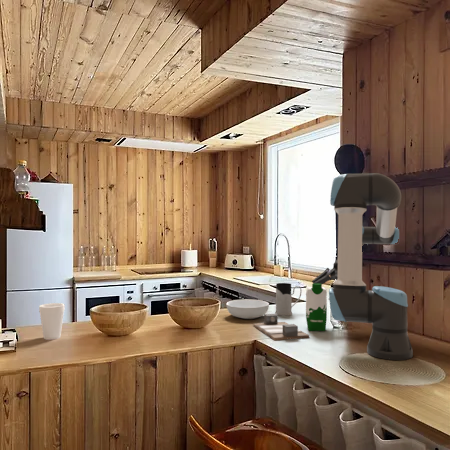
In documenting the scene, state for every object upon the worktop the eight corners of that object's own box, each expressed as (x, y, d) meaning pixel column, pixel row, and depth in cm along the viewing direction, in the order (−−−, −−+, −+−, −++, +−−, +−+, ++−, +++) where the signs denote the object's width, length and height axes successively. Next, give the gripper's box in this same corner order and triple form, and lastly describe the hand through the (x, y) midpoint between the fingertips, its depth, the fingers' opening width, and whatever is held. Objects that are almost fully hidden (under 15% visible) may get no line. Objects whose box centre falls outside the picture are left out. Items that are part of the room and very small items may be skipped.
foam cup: (55, 341, 175) (55, 307, 175) (34, 340, 177) (34, 307, 176) (69, 335, 184) (69, 303, 184) (48, 334, 186) (48, 302, 186)
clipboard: (309, 337, 181) (309, 325, 181) (274, 340, 177) (274, 327, 177) (284, 323, 205) (284, 313, 205) (253, 325, 201) (253, 314, 201)
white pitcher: (272, 312, 231) (272, 283, 231) (297, 310, 235) (297, 282, 235) (279, 315, 222) (279, 285, 222) (305, 314, 227) (305, 284, 227)
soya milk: (306, 331, 191) (307, 284, 191) (305, 326, 200) (305, 281, 200) (327, 331, 191) (328, 284, 190) (325, 326, 200) (325, 281, 199)
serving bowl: (219, 314, 225) (219, 301, 225) (256, 311, 234) (256, 298, 233) (237, 323, 206) (237, 308, 206) (277, 319, 215) (277, 305, 215)
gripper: (370, 271, 195) (344, 309, 188) (329, 266, 217) (305, 299, 209) (361, 259, 193) (335, 297, 185) (321, 255, 214) (296, 289, 207)
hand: (319, 299), depth 197 cm, fingers open, 13 cm apart
